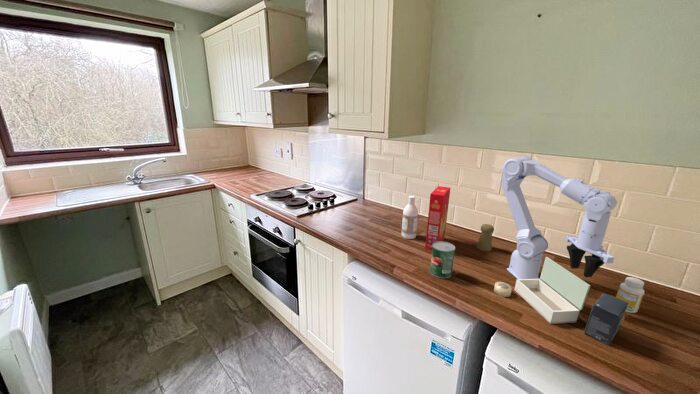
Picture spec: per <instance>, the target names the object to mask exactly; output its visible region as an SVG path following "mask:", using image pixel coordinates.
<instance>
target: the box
mask: <svg viewBox="0 0 700 394" xmlns="http://www.w3.org/2000/svg"><path fill="white" fill-rule="evenodd" d="M627 306H628V302H626V301H623V300H621V299H618V298H616V296H612V295H610V294H608V293H605V292H603V293H602V294H601V296H600V297H599V298H598V299H596V301H595V303H594V304H593V305H592V307H591V310H590V314H589V317H588V320H587V322H586V326H585V328H584V331H583V334H585V335H587V336H589V337H591V338H593V339H595V340H598V341H599V342H600V343H603V344H605V345H607V346H610V344H611V343H612V341H613V339H614V338H615V336H616V334H617V333H618V332H619V329H620V327H621V324H622V321H623V319H624V317H625V313H626V309H627Z"/></svg>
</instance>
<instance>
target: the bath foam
mask: <svg viewBox="0 0 700 394" xmlns="http://www.w3.org/2000/svg"><path fill="white" fill-rule="evenodd" d="M407 200H408V202H407V205H405V207H404V209H403V211H402V221H401V222H402V224H401V237H402V238H404V239H407V240H413V239H415V238H416V237H417V232H418V221H419V219H418V218H419V210H418V208H417V206H416V204H415V203H416V196H415V195H409V196H408V199H407Z"/></svg>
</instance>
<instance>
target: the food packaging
mask: <svg viewBox="0 0 700 394" xmlns="http://www.w3.org/2000/svg"><path fill="white" fill-rule="evenodd" d="M450 194H451V187H447V186H440V185H438V186H437V187H436V188H435V189H434V190H433V191H432V192H431V193H430V196H429V205H428V216H427V225H426V235H425V243H424V244H425V246H424V249H426V250H431V251H432V247H433V243H435V242H438V241H443V242H444V240H445V237H446V229H447V228H446V227H447V220H448V211H449V202H450Z"/></svg>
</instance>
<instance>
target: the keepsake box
mask: <svg viewBox="0 0 700 394" xmlns="http://www.w3.org/2000/svg"><path fill="white" fill-rule="evenodd" d="M541 280H542V279H541ZM541 280H540V279H517V278H516V281H515V285H514V289H513V290H514V291H515V292H516V293H517V294H518V295H519V296H520V297H521V298H523V300H524V301H525V302H527V304H529V305H530V306H531V307H532V308H533V309H534V310H535V311H536V312H537V313H538V314H539V315H540V316H541V317H542V318H543V319H544V320H546V321H547V322H548V323H549V324H550V325H551V324H554V325H555V324H569V323H571V324H572V323H577V320H578V317H579V314H580V309H579V308H577V307H576V306H575V305H574V304H572V303H571V302H570V301H568V300H567V299H566V298H565V297H563V296H562V295H561V294H560V293H558V292H557V291H556V290H554V289H553V288H552V287H551V286H549V285H548V284H547V283H546V282H543V281H541Z"/></svg>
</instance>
